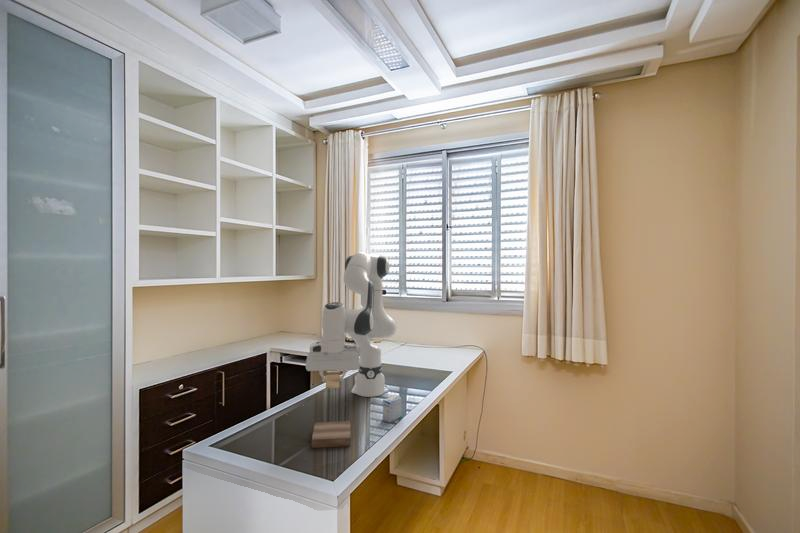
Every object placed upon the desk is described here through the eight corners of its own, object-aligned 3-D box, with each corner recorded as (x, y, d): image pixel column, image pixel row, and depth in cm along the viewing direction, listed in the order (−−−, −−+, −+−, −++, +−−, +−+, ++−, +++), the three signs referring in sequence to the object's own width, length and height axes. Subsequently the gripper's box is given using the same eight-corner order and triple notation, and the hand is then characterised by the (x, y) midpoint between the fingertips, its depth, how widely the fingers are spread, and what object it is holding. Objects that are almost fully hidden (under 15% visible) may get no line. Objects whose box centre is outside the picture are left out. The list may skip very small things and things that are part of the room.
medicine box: (394, 414, 166) (394, 394, 166) (402, 417, 163) (402, 397, 163) (382, 419, 160) (382, 399, 160) (390, 423, 157) (390, 402, 157)
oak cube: (326, 383, 145) (326, 370, 145) (339, 383, 145) (339, 370, 145) (325, 388, 140) (325, 374, 140) (339, 387, 140) (339, 374, 140)
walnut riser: (315, 430, 149) (315, 422, 149) (350, 428, 151) (350, 421, 151) (311, 447, 135) (311, 439, 135) (350, 445, 137) (350, 437, 137)
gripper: (360, 343, 147) (359, 378, 147) (307, 343, 144) (306, 379, 144) (361, 347, 141) (360, 383, 141) (305, 347, 138) (304, 384, 138)
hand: (332, 381), depth 143 cm, fingers closed on oak cube, 5 cm apart
